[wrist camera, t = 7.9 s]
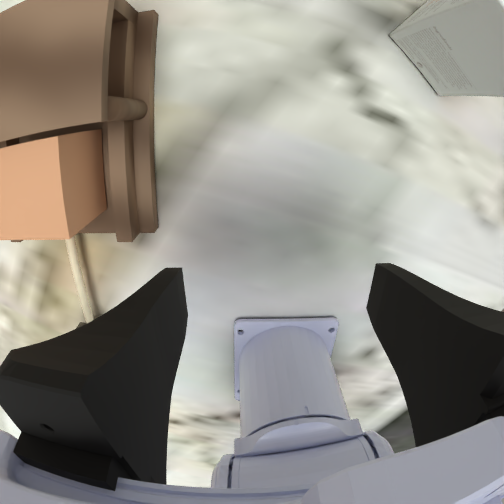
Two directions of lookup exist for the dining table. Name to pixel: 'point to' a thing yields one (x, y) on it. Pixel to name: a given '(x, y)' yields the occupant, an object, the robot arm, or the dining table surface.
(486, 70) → the small box
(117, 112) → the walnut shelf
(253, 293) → the dining table surface
